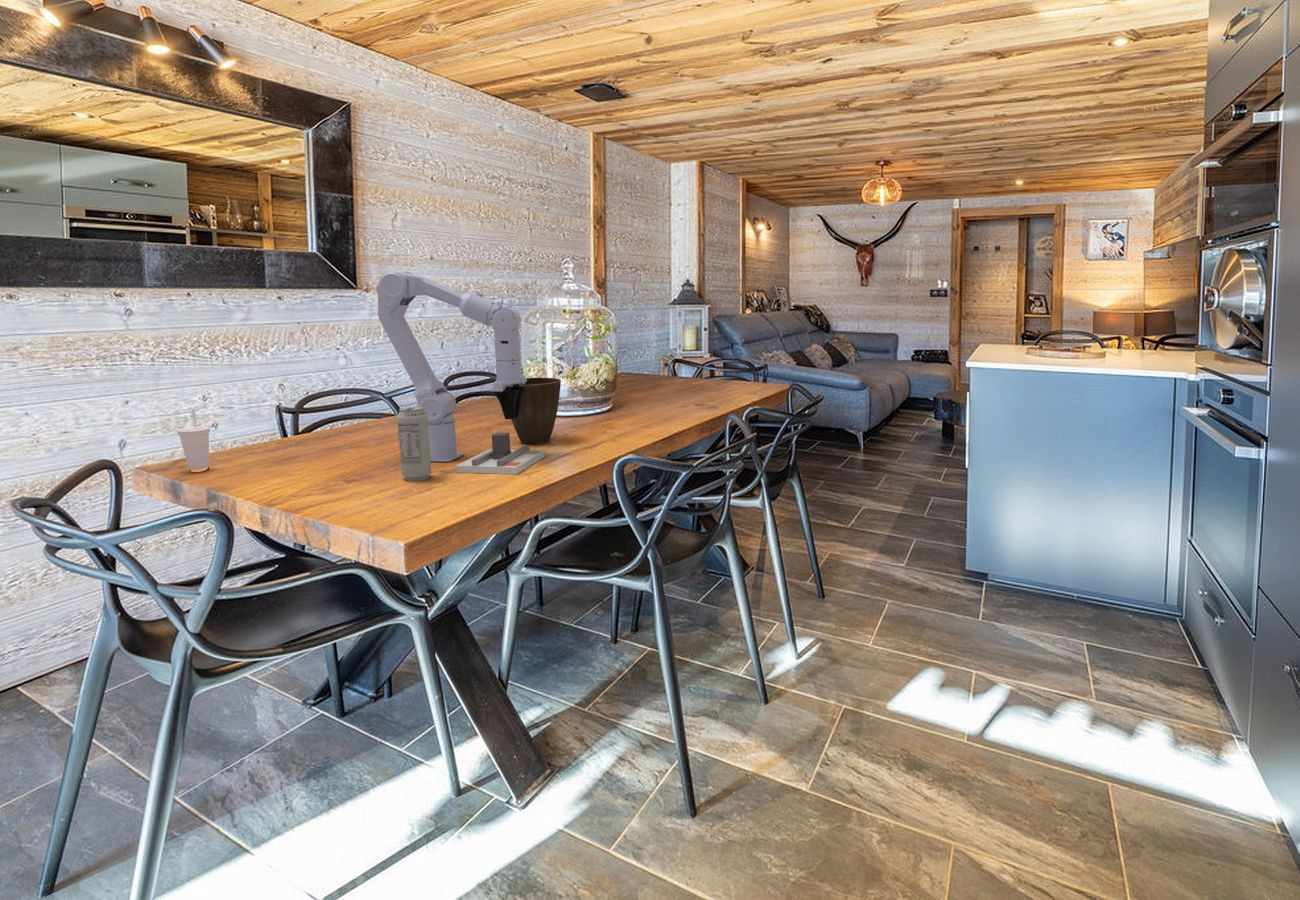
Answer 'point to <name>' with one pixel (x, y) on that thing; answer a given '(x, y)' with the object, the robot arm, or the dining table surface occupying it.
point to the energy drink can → (414, 443)
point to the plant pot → (537, 410)
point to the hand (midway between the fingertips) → (511, 418)
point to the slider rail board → (501, 462)
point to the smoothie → (195, 445)
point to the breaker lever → (500, 445)
